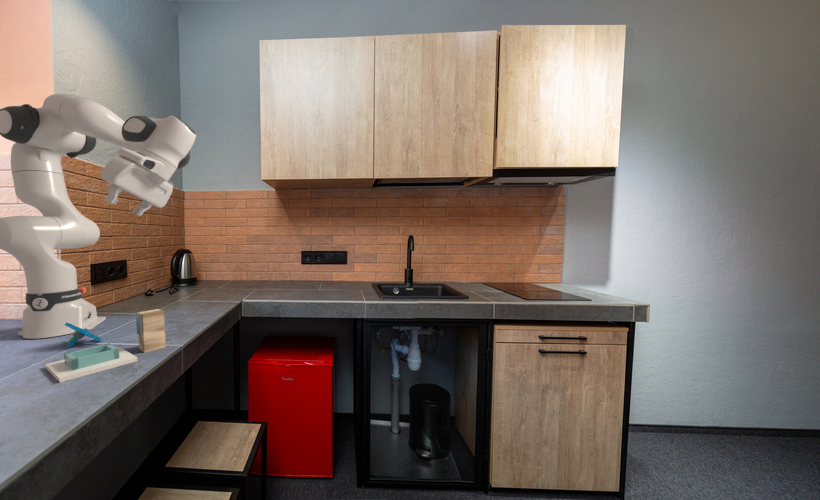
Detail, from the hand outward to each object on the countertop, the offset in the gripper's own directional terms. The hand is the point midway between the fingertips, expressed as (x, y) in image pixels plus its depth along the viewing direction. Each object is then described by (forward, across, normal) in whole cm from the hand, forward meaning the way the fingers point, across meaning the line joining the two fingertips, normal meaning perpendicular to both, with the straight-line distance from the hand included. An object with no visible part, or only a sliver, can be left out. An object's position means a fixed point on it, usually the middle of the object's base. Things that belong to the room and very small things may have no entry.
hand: (123, 209), depth 85 cm
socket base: (+39, -4, +14) cm, 41 cm away
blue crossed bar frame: (+42, -20, -2) cm, 46 cm away
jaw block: (+33, -14, +20) cm, 41 cm away
